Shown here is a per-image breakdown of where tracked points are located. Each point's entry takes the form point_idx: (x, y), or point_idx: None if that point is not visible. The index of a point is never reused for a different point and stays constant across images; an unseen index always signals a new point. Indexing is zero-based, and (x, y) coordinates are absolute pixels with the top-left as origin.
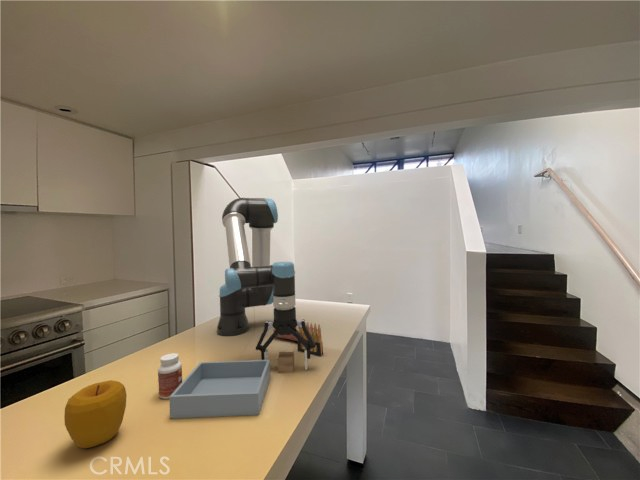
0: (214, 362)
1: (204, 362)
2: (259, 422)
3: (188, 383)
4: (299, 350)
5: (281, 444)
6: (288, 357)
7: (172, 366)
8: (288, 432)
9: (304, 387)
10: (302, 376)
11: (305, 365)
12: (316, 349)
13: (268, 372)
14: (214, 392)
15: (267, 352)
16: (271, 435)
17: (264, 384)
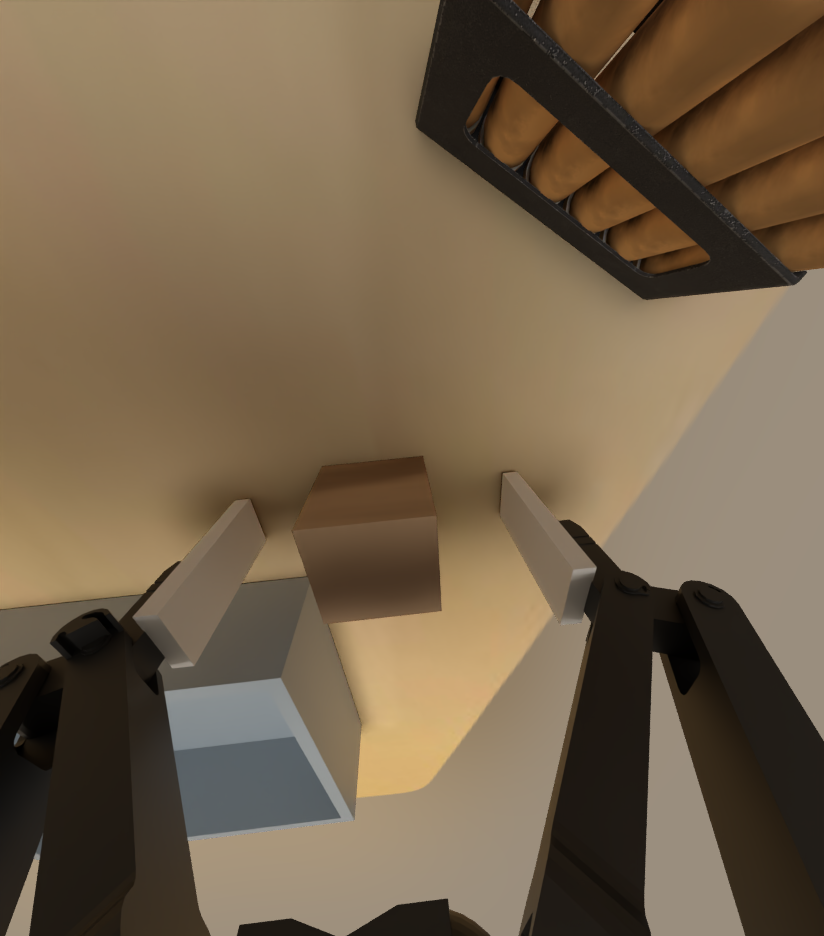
0: None
1: None
2: (374, 737)
3: None
4: (443, 139)
5: (443, 762)
6: (406, 606)
7: None
8: (453, 745)
9: (492, 627)
10: (483, 563)
11: (512, 532)
12: (663, 251)
13: (312, 661)
14: None
15: (187, 604)
16: (416, 753)
17: (336, 721)
